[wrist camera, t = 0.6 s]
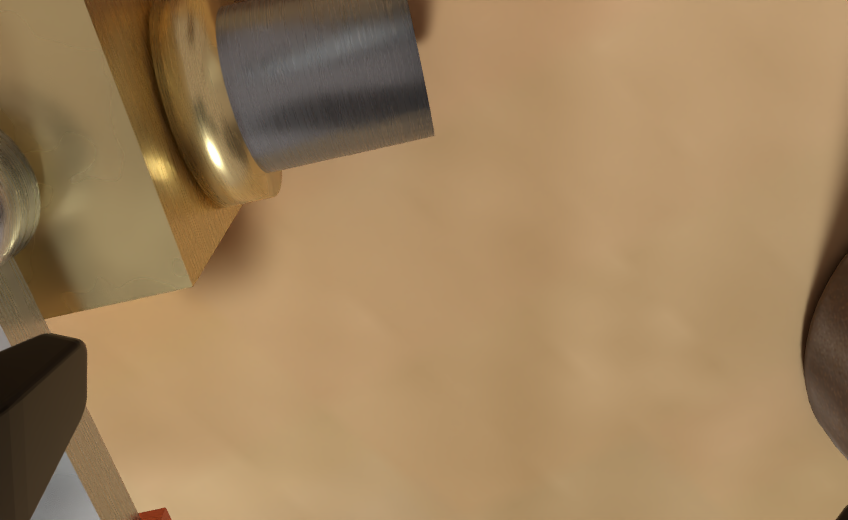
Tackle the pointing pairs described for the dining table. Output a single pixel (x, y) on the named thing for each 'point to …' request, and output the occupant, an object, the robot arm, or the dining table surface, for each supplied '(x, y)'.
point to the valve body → (186, 124)
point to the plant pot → (830, 359)
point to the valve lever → (21, 320)
